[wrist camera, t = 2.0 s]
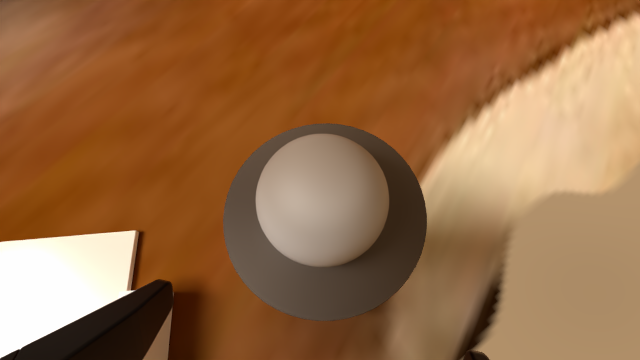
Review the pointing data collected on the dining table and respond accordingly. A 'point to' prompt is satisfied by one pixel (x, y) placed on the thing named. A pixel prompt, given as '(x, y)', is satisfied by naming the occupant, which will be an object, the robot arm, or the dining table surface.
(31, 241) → the coaster
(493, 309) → the dining table surface
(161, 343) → the low frosted rail
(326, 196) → the pepper mill
